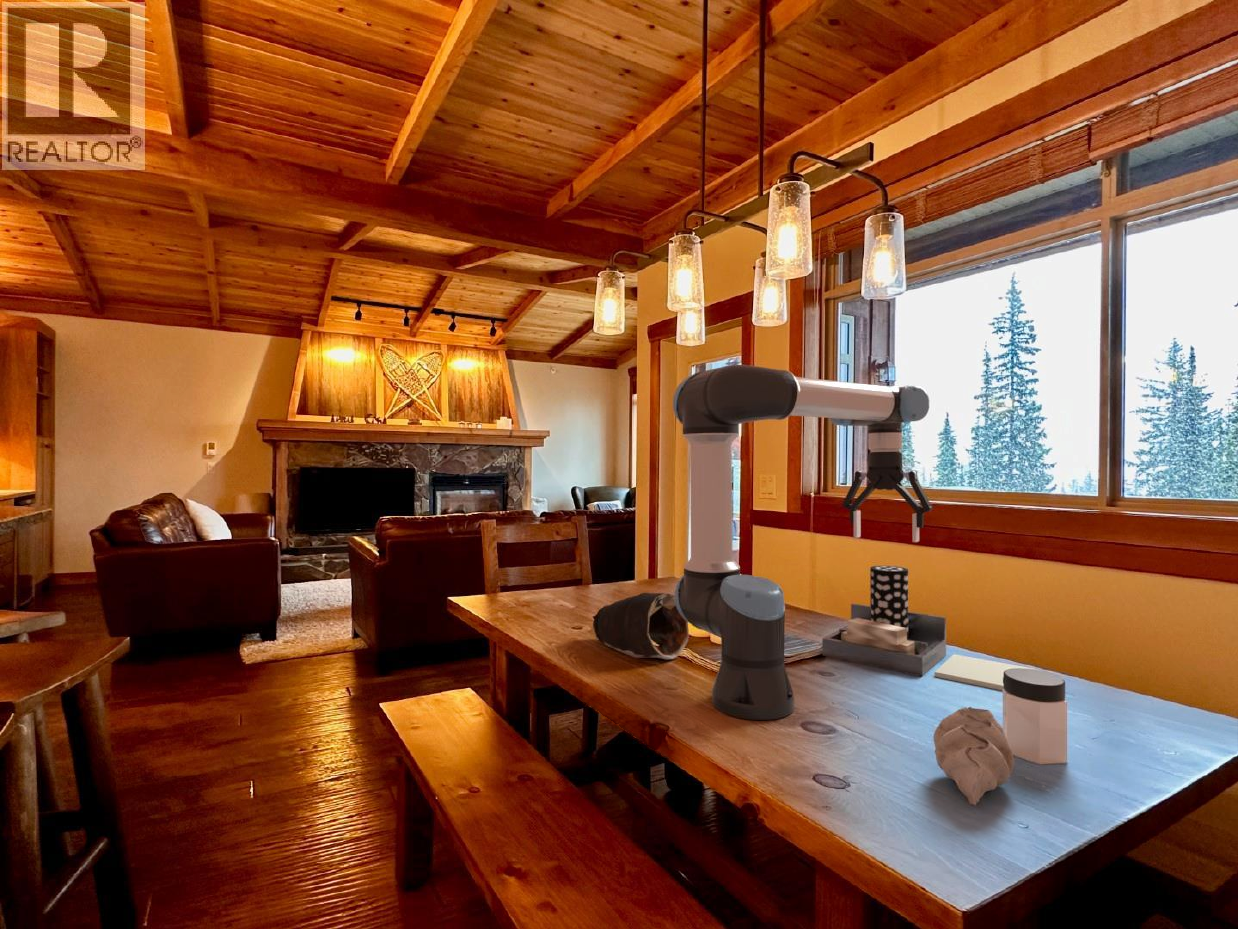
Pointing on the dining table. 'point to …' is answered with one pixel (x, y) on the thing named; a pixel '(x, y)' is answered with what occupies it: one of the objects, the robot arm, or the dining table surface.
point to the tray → (920, 630)
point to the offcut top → (877, 631)
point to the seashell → (973, 751)
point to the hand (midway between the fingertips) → (885, 539)
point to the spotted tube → (889, 595)
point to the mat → (974, 671)
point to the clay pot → (643, 626)
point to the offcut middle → (879, 643)
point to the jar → (1035, 715)
